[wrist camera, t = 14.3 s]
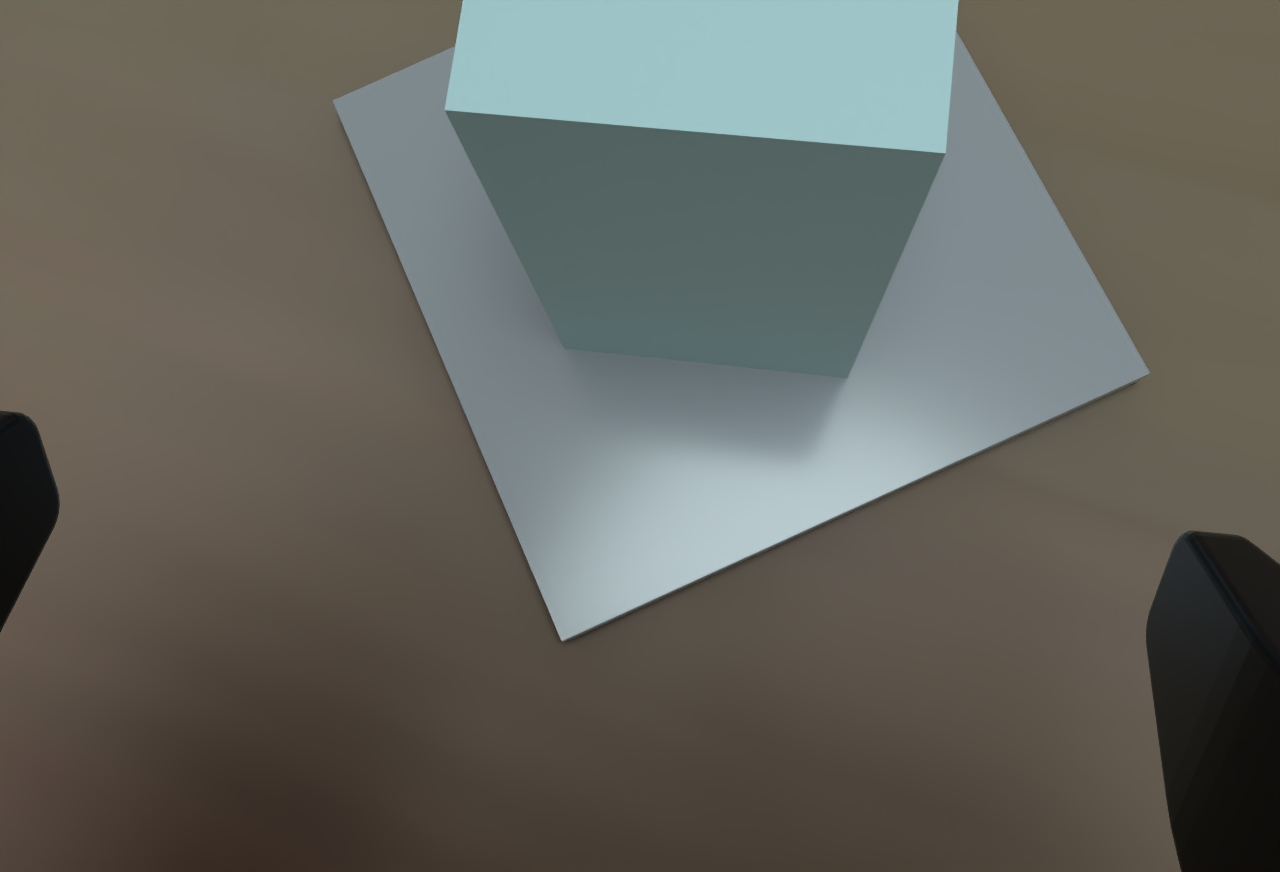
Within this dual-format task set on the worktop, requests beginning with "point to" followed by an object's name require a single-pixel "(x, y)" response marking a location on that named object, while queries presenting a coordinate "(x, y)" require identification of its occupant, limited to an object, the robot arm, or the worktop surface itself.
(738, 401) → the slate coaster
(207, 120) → the worktop surface
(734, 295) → the grey-teal block
